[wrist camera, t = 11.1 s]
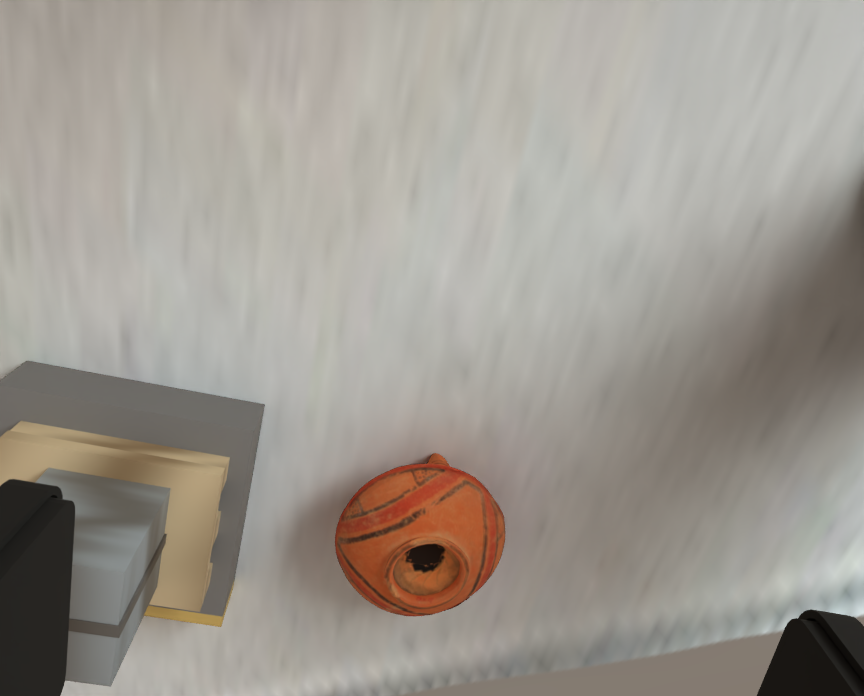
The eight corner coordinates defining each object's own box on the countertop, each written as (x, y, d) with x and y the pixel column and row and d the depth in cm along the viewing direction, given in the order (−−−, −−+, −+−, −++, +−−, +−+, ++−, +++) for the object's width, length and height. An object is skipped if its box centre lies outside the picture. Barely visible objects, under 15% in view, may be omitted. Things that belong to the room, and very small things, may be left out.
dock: (264, 404, 36) (254, 431, 34) (232, 588, 40) (220, 626, 37) (26, 360, 35) (-5, 384, 32) (13, 554, 38) (-17, 591, 35)
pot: (344, 419, 37) (376, 489, 31) (489, 438, 40) (545, 505, 33) (308, 561, 39) (332, 653, 33) (448, 569, 42) (494, 655, 36)
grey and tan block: (230, 455, 34) (185, 558, 26) (209, 586, 36) (162, 715, 29) (21, 418, 33) (-88, 515, 25) (11, 555, 35) (-92, 682, 27)
